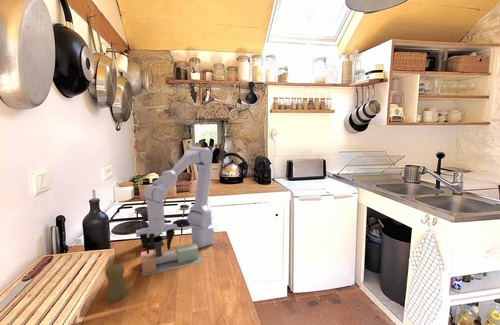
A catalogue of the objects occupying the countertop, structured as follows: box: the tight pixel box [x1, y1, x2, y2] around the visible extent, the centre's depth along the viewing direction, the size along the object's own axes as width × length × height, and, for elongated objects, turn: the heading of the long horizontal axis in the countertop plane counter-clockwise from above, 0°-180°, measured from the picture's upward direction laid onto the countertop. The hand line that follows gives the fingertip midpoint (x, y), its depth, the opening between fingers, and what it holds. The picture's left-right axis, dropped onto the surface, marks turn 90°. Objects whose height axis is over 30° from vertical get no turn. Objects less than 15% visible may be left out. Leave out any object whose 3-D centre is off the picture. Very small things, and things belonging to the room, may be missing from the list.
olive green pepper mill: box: [105, 263, 128, 303], centre depth 85 cm, size 6×6×11 cm
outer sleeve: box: [175, 243, 199, 262], centre depth 108 cm, size 8×4×4 cm, turn 115°
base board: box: [140, 252, 204, 277], centre depth 106 cm, size 22×12×1 cm, turn 115°
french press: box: [138, 197, 167, 250], centre depth 118 cm, size 12×9×23 cm
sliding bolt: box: [154, 242, 178, 264], centre depth 104 cm, size 14×3×7 cm, turn 115°
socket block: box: [140, 249, 156, 273], centre depth 102 cm, size 4×8×4 cm, turn 25°
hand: (158, 250), depth 103 cm, fingers open, 7 cm apart
